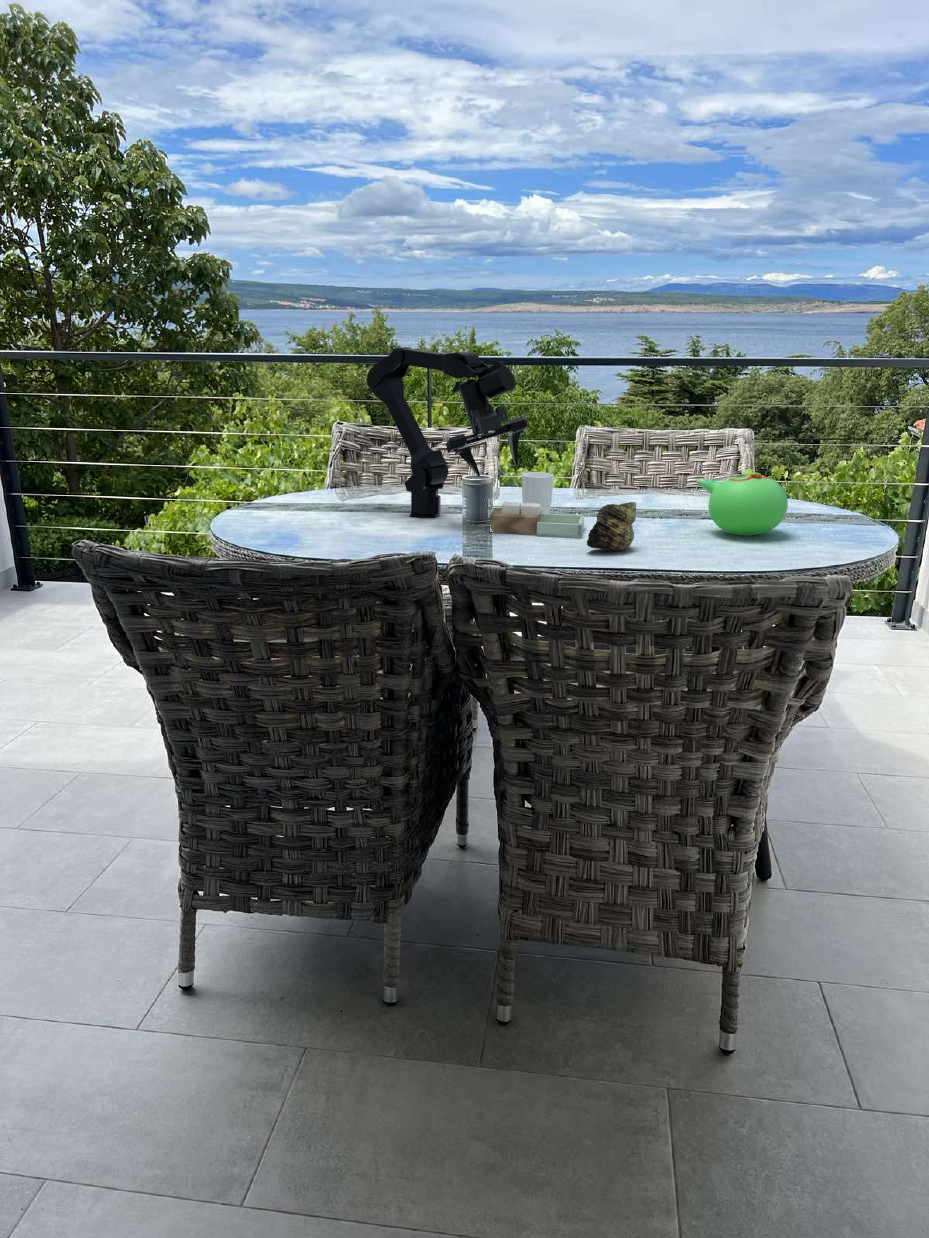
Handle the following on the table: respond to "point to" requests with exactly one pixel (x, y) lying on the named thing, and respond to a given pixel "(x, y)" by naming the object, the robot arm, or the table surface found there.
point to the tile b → (531, 509)
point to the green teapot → (746, 503)
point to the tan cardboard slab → (513, 523)
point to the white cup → (538, 489)
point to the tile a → (511, 508)
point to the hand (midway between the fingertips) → (497, 470)
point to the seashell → (613, 527)
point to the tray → (560, 525)
